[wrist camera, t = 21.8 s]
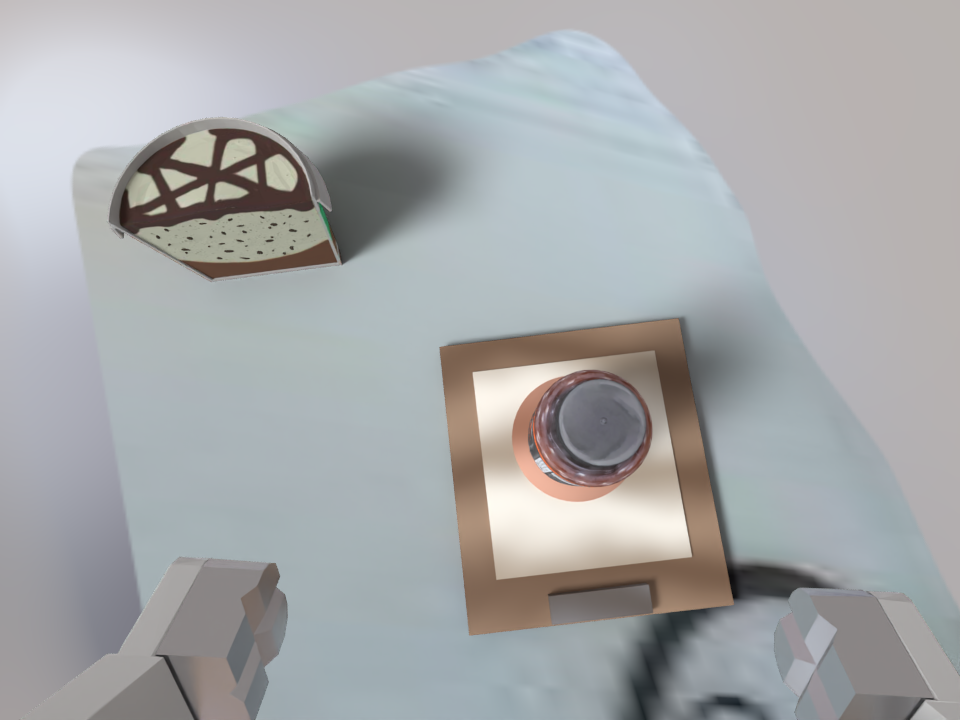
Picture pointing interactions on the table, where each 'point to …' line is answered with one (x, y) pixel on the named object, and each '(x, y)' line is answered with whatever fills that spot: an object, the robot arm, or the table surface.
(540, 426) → the supplement bottle
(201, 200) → the food container
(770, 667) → the table surface
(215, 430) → the table surface
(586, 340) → the clipboard
